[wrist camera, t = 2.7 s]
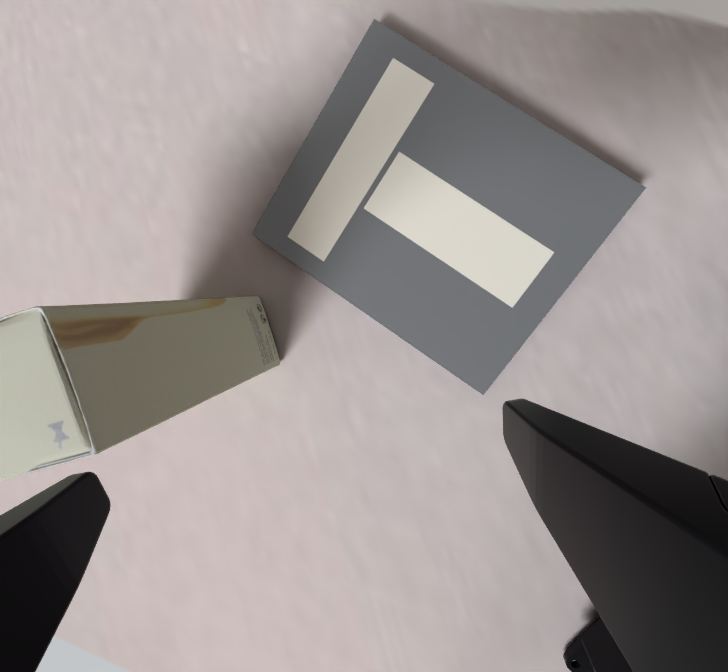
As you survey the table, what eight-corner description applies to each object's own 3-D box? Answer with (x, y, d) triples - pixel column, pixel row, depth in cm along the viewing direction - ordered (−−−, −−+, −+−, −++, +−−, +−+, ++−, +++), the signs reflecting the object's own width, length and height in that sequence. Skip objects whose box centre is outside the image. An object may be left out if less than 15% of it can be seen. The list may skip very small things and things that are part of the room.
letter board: (636, 192, 18) (646, 187, 17) (481, 390, 20) (483, 395, 19) (376, 30, 19) (374, 18, 18) (258, 236, 21) (251, 234, 20)
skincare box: (261, 293, 21) (48, 295, 9) (284, 364, 22) (105, 455, 10) (167, 324, 23) (-125, 361, 11) (190, 391, 23) (-70, 501, 11)
